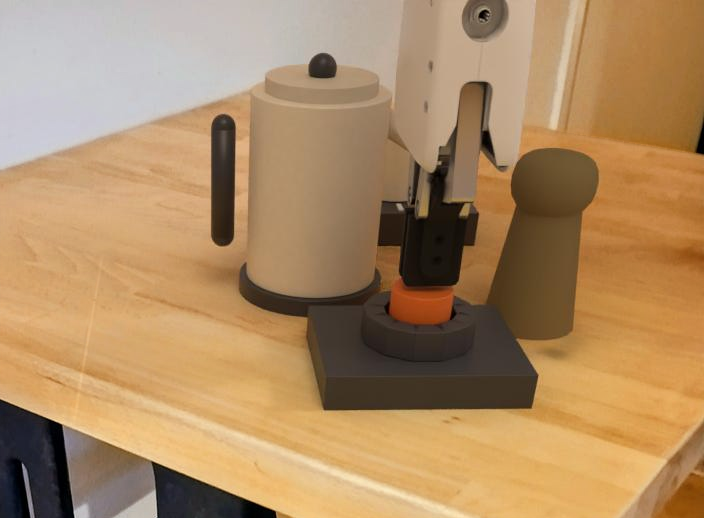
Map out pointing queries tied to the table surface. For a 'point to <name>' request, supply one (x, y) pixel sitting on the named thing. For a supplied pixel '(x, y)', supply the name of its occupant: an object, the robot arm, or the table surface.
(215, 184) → the kettle
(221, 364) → the table surface
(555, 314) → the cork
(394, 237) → the panel
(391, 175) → the knob
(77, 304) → the table surface
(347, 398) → the switch block
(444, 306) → the power button
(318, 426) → the table surface
